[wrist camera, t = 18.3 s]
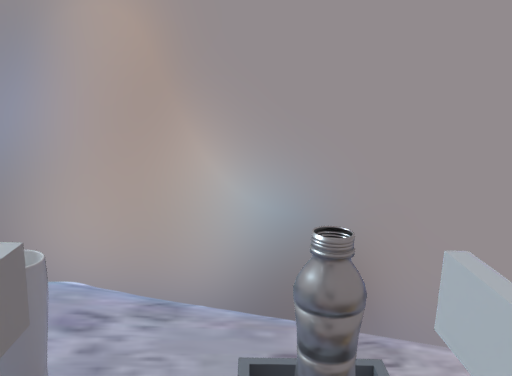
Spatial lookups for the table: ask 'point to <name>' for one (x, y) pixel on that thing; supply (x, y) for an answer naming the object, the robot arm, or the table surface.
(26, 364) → the drinking glass
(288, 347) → the table surface
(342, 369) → the silver metal bottle
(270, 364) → the tray
